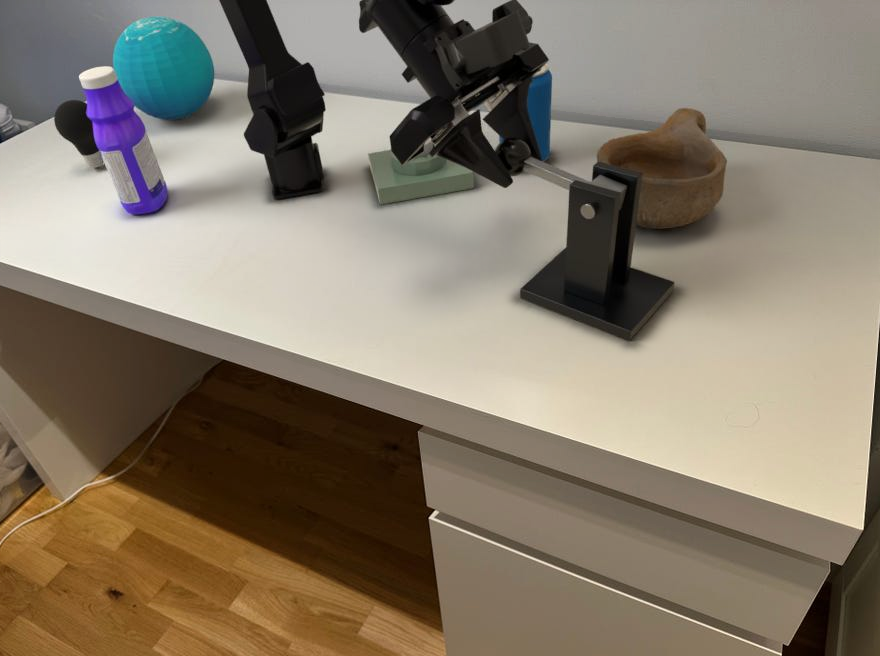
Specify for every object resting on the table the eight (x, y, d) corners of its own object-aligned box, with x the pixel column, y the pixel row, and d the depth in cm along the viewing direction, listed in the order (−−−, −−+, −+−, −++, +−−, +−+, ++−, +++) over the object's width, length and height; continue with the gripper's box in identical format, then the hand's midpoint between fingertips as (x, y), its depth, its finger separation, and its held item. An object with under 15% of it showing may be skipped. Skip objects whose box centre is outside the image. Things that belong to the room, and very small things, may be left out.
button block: (380, 204, 87) (375, 175, 84) (370, 168, 95) (365, 140, 92) (474, 188, 88) (472, 158, 85) (457, 153, 95) (455, 125, 93)
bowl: (597, 152, 89) (628, 76, 81) (705, 190, 87) (747, 116, 79) (567, 224, 77) (600, 143, 69) (691, 270, 75) (738, 192, 68)
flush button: (404, 162, 87) (403, 148, 86) (399, 148, 90) (398, 135, 89) (436, 156, 87) (434, 143, 86) (430, 142, 90) (428, 130, 89)
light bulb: (68, 175, 102) (37, 109, 96) (96, 157, 106) (67, 92, 99) (99, 179, 100) (69, 112, 94) (126, 160, 104) (99, 94, 97)
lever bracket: (519, 298, 71) (519, 183, 62) (566, 255, 75) (573, 142, 67) (629, 341, 64) (646, 220, 56) (673, 291, 69) (695, 172, 60)
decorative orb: (243, 100, 117) (217, 3, 107) (190, 139, 107) (156, 37, 97) (171, 94, 122) (140, 2, 112) (114, 132, 113) (75, 34, 103)
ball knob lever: (484, 174, 68) (487, 141, 65) (505, 159, 70) (509, 126, 67) (604, 228, 62) (613, 194, 60) (624, 210, 64) (633, 176, 61)
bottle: (133, 193, 96) (79, 64, 84) (174, 187, 96) (126, 58, 84) (121, 220, 91) (62, 87, 79) (164, 215, 91) (111, 80, 79)
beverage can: (547, 171, 89) (550, 77, 81) (497, 171, 90) (494, 78, 82) (550, 148, 94) (554, 56, 86) (502, 148, 95) (501, 58, 87)
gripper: (398, 10, 54) (519, 176, 55) (533, -53, 63) (632, 90, 65) (343, 93, 63) (447, 233, 65) (468, 28, 73) (556, 150, 74)
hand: (524, 174), depth 67 cm, fingers open, 5 cm apart
